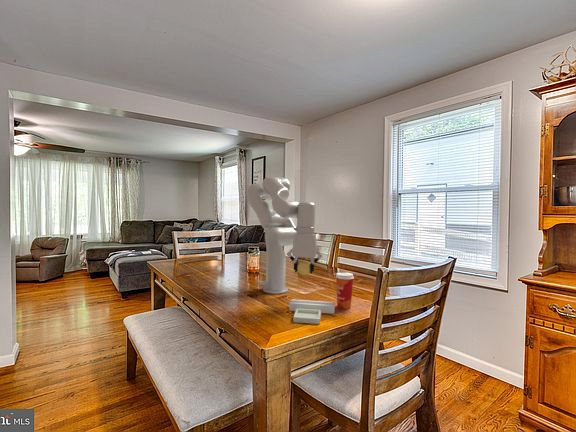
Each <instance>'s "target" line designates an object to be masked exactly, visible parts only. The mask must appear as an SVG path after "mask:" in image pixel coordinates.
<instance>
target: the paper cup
mask: <svg viewBox="0 0 576 432" xmlns="http://www.w3.org/2000/svg"><path fill="white" fill-rule="evenodd" d="M335 279H336V281H335V283H336V307H337V308H338V309H341V310H349V309H351V307H352V297H353V285H354V284H353V283H354V279H355V277H354V274H353V273H350V272H337V273H336V274H335Z"/></svg>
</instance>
